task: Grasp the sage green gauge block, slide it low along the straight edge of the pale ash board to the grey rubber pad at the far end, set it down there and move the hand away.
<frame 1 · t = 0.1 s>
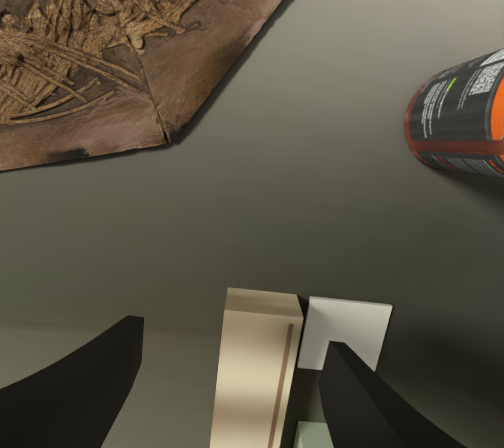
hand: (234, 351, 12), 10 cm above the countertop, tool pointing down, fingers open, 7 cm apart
supplement bottle: (445, 120, 19), on the countertop
wooden fragment: (94, 75, 19), on the countertop
ash board: (248, 386, 24), on the countertop
grey pad: (342, 335, 23), on the countertop
gauge block: (317, 441, 26), on the countertop
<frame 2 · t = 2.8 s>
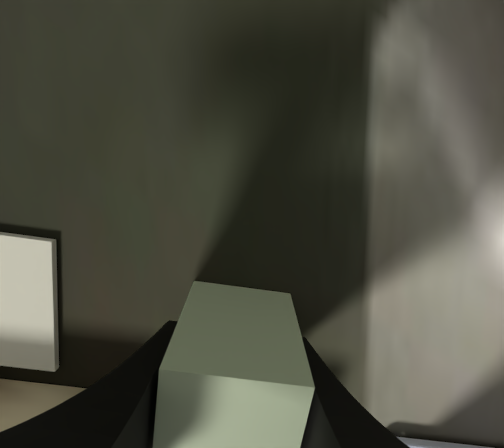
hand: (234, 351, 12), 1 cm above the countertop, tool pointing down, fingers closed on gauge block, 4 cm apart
ash board: (113, 434, 15), on the countertop
gauge block: (236, 329, 13), on the countertop, touching gripper
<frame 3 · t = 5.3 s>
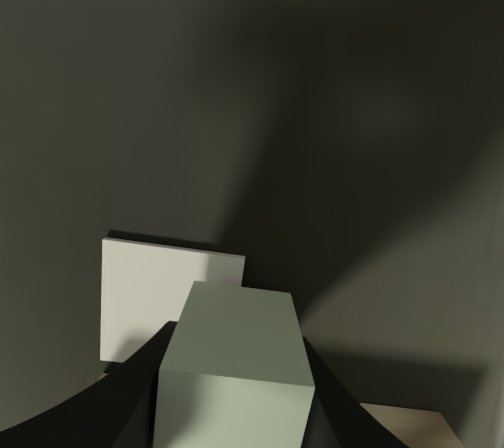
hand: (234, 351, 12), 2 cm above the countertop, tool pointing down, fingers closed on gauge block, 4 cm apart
ash board: (267, 432, 16), on the countertop
grey pad: (170, 308, 14), on the countertop
gauge block: (236, 328, 13), point 1 cm above the countertop, touching gripper
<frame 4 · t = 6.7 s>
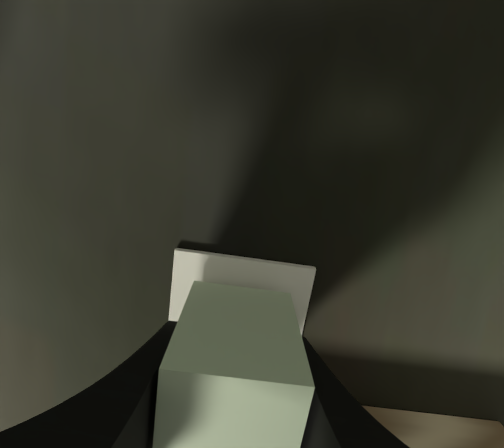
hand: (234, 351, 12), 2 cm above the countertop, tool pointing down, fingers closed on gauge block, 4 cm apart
ash board: (325, 441, 16), on the countertop
grey pad: (236, 318, 14), on the countertop
gauge block: (236, 328, 13), point 1 cm above the countertop, touching gripper
when the fingers open (2 cm above the countertop, at t = 7.7 s): gauge block stays where it is, resting on grey pad.
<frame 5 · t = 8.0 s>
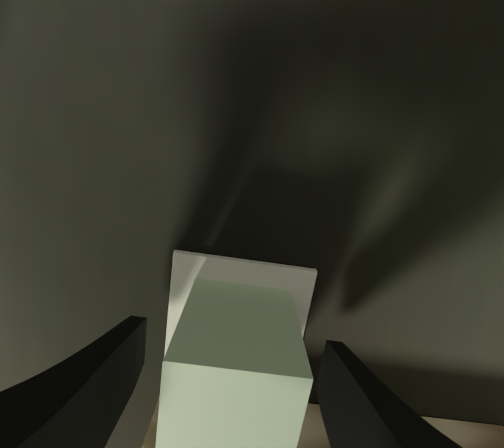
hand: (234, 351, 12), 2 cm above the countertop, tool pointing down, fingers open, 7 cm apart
ash board: (326, 445, 16), on the countertop
grey pad: (236, 321, 14), on the countertop
gauge block: (236, 325, 13), resting on grey pad
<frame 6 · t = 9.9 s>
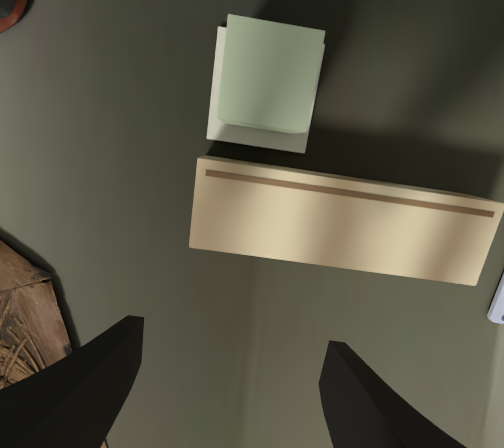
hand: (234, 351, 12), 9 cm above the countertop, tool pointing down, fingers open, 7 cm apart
wooden fragment: (12, 327, 23), on the countertop
ash board: (331, 213, 20), on the countertop
grey pad: (263, 93, 18), on the countertop
gauge block: (263, 93, 18), resting on grey pad
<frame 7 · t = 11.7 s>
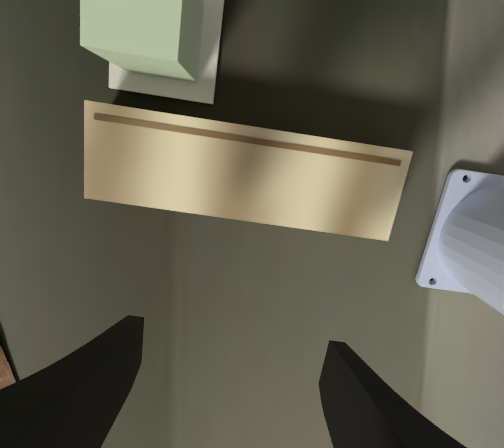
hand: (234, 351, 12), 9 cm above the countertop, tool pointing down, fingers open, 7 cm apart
ash board: (246, 169, 19), on the countertop
grey pad: (166, 39, 17), on the countertop
gauge block: (164, 38, 17), resting on grey pad
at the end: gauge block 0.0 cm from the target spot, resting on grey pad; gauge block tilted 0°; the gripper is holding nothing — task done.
